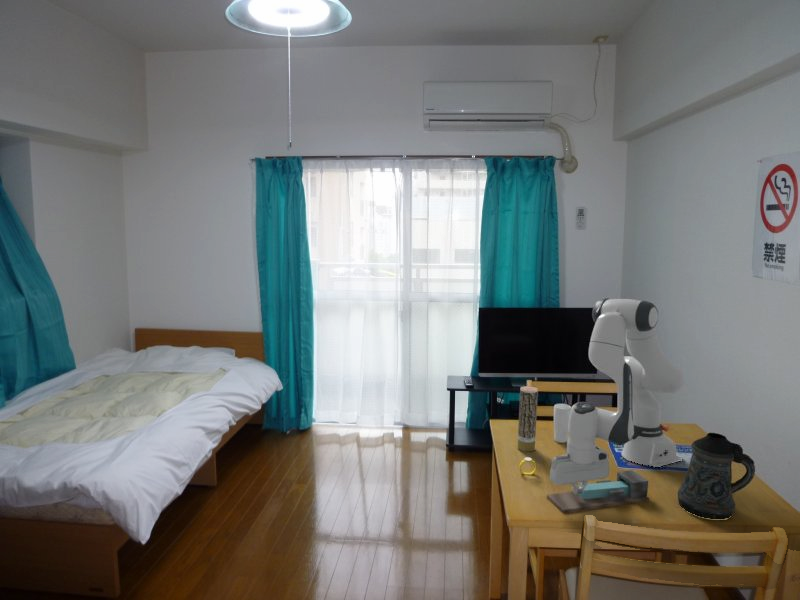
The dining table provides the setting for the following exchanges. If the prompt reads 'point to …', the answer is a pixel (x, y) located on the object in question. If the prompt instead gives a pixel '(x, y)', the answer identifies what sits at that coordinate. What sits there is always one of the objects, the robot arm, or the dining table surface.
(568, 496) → the end-cap base
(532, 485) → the dining table surface
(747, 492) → the dining table surface
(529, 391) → the brown bark cylinder
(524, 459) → the watch
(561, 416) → the drinking glass
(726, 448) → the beer stein
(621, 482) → the slat
